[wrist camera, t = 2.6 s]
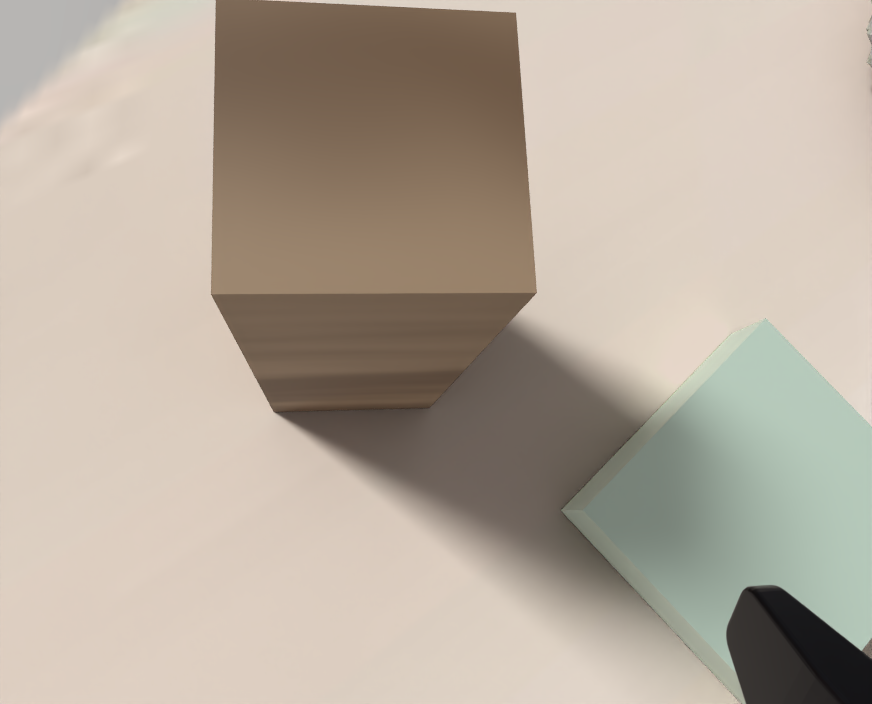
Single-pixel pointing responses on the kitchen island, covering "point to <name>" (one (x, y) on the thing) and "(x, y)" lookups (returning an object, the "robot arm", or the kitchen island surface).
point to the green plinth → (741, 497)
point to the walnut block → (367, 197)
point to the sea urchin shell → (871, 34)
